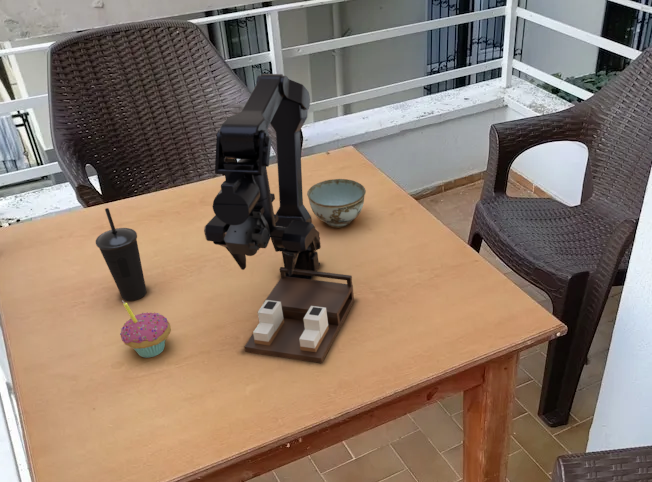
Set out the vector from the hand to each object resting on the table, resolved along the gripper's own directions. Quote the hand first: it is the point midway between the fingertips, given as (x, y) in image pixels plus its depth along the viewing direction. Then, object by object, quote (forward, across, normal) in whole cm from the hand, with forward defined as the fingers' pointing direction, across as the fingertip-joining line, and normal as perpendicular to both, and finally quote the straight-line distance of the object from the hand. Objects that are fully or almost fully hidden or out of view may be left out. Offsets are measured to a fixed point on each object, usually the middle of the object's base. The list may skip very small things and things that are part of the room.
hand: (267, 271), depth 125 cm
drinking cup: (+13, -34, +4) cm, 36 cm away
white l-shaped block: (+12, 0, -3) cm, 12 cm away
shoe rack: (+13, +4, +2) cm, 14 cm away
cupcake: (+13, -20, -11) cm, 27 cm away
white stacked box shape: (+12, +9, -3) cm, 15 cm away
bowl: (+13, -2, +41) cm, 43 cm away
